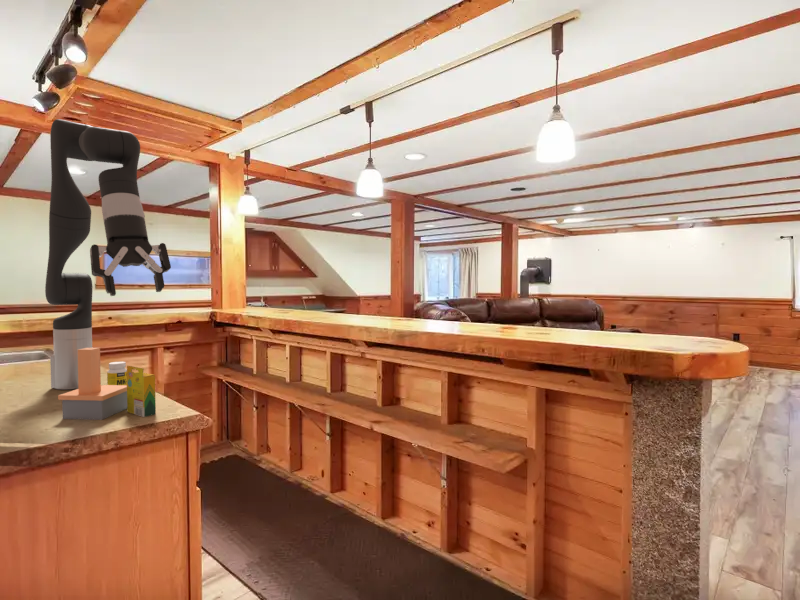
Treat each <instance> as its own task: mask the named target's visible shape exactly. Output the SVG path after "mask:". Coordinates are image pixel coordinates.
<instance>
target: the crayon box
mask: <svg viewBox="0 0 800 600" xmlns="http://www.w3.org/2000/svg"><path fill="white" fill-rule="evenodd" d="M126 369H127V409H126V410H127V413H130V414H131V415H132V414H133V415H136V416H140V417H142V418H145V417H149V416H154V415H156V413H157V412H156V374H153V373H146V372H144V368H143V367H137V366H132V365H126ZM133 370H136V371H133Z"/></svg>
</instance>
